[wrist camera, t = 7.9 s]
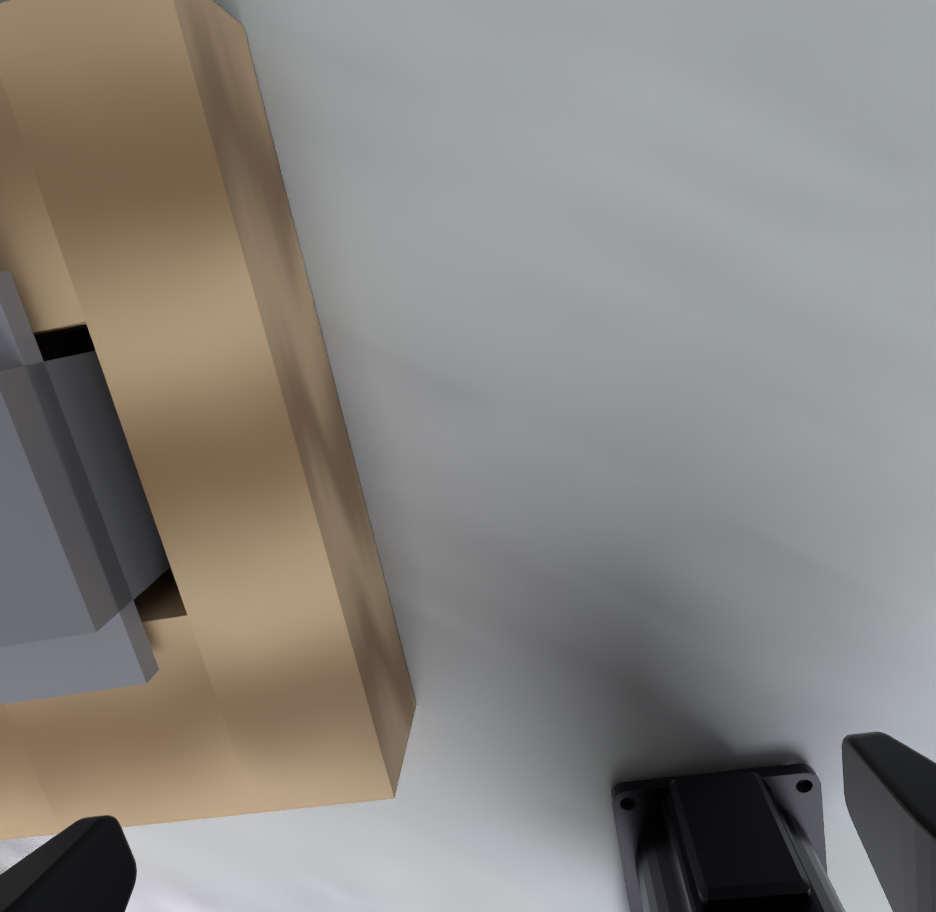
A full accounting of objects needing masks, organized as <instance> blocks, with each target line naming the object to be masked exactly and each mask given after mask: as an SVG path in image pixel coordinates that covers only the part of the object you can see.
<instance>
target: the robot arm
mask: <svg viewBox="0 0 936 912" xmlns="http://www.w3.org/2000/svg"><path fill="white" fill-rule="evenodd" d="M842 762H843V780H844V795H845V801H846V805H847V808H848V811H849V814H850V817H851V819H852V821H853V824H854V826H855V828H856V830H857V833H858V835H859V837H860V839H861V841H862V844H863V846H864V848H865V850H866V853H867V855H868V857H869V859H870V861H871V864H872V866H873V868H874V870H875V873H876V875H877V877H878V879H879V881H880V884H881V886H882V888H883V890H884V893H885V895H886V897H887V899H888V901H889V904H890V906H891V908H892V910H893V912H936V763H935V762H933V761H932V760H930V759H928V758H926V757H925V756H923V755H921V754H920V753H918V752H916V751H915V750H913V749H911V748H910V747H908V746H906V745H904V744H903V743H901V742H899V741H898V740H896V739H894V738H893V737H891V736H889V735H887V734H885V733H882V732H869V733H860V734H850V735H847V736H846V737H845V738H844V739H843V742H842ZM800 780H806V781H804V782H803V783H798V782H799V781H800ZM627 797H628V798H632V799H631V800H628V801H625V800H622V799H623V798H627ZM611 799H612V805H613V811H614V817H615V823H616V829H617V834H618V840H619V846H620V852H621V858H622V864H623V869H624V875H625V881H626V887H627V893H628V898H629V904H630V910H631V912H845V910H844V908H843V906H842V904H841V902H840V900H839V898H838V896H837V894H836V892H835V890H834V888H833V886H832V884H831V882H830V880H829V878H828V876H827V866H826V851H825V837H824V822H823V808H822V793H821V783H820V780H819V778H818V777H817V775H816V773H815V771H814V770H813V769H812V768H811V767H810V766H808V765H805V764H793V765H783V766H773V767H764V768H754V769H745V770H735V771H725V772H716V773H706V774H697V775H687V776H678V777H668V778H658V779H649V780H639V781H630V782H623V783H619V784H617V785H616V786H614V787H613V789H612V791H611ZM136 874H137V868H136V862H135V859H134V857H133V854H132V852H131V849H130V847H129V845H128V842H127V840H126V837H125V835H124V833H123V830H122V828H121V825H120V823H119V821H118V820H117V819H116V818H115V817H113V816H110V815H103V816H93V817H86V818H82V819H80V820H78V821H76V822H74V823H73V824H72V825H70V826H69V827H67V828H66V829H64V830H63V831H62V832H60V833H59V834H57V835H56V836H55V837H53V838H52V839H50V840H49V841H48V842H46V843H45V844H43V845H42V846H40V847H39V848H38V849H36V850H35V851H33V852H32V853H31V854H29V855H28V856H26V857H25V858H24V859H22V860H21V861H19V862H18V863H16V864H15V865H14V866H12V867H11V868H9V869H8V870H7V871H5V872H4V873H2V874H1V875H0V912H125V910H126V907H127V905H128V902H129V899H130V896H131V894H132V891H133V888H134V885H135V881H136Z"/></svg>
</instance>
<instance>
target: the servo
mask: <svg viewBox="0 0 936 912" xmlns="http://www.w3.org/2000/svg"><path fill="white" fill-rule="evenodd" d="M170 567H171V566H170V563H169V561H168V558H167V555H166V552H165V549H164V546H163V543H162V540H161V537H160V535H159V532H158V529H157V526H156V523H155V520H154V517H153V514H152V512H151V509H150V506H149V503H148V500H147V497H146V494H145V491H144V488H143V486H142V483H141V480H140V477H139V474H138V471H137V468H136V465H135V463H134V460H133V457H132V454H131V451H130V448H129V445H128V442H127V439H126V437H125V434H124V431H123V428H122V425H121V422H120V419H119V416H118V414H117V411H116V408H115V405H114V402H113V399H112V396H111V393H110V390H109V388H108V385H107V382H106V379H105V376H104V373H103V370H102V367H101V365H100V362H99V359H98V356H97V353H96V351H91V352H87V353H82V354H77V355H73V356H68V357H63V358H59V359H54V360H49V361H43V358H42V355H41V353H40V350H39V347H38V345H37V342H36V339H35V337H34V334H33V331H32V329H31V326H30V323H29V321H28V318H27V315H26V313H25V310H24V307H23V305H22V302H21V299H20V297H19V294H18V291H17V289H16V286H15V283H14V281H13V278H12V275H11V273H10V271H0V700H1V702H2V704H8V703H15V702H23V701H30V700H37V699H44V698H51V697H58V696H65V695H72V694H79V693H86V692H93V691H100V690H107V689H114V688H121V687H128V686H135V685H142V684H147V683H148V682H149V681H150V680H151V678H152V677H153V676H154V675H155V674H156V673H157V672H158V670H159V667H158V665H157V662H156V659H155V657H154V654H153V651H152V649H151V646H150V643H149V641H148V638H147V635H146V633H145V630H144V627H143V625H142V622H141V619H140V617H139V614H138V611H137V609H136V606H135V603H134V601H133V600H134V599H135V598H136V597H137V596H138V595H139V594H140V593H142V592H143V591H144V590H145V589H146V588H147V587H148V586H150V585H151V584H152V583H153V582H154V581H155V580H156V579H158V578H159V577H160V576H161V575H162V574H163V573H164V572H166V571H167V570H168V569H169V568H170Z"/></svg>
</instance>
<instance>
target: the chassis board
mask: <svg viewBox="0 0 936 912" xmlns="http://www.w3.org/2000/svg"><path fill="white" fill-rule="evenodd" d="M0 271H10V273H11V275H12V278H13V281H14V283H15V286H16V289H17V291H18V294H19V297H20V299H21V302H22V305H23V307H24V310H25V313H26V315H27V318H28V321H29V323H30V326H31V329H32V331H33V334H34V337H35V338H38V337H42V336H47V335H52V334H56V333H61V332H66V331H71V330H75V329H80V328H85V327H88V330H89V333H90V336H91V339H92V341H93V344H94V347H95V350H96V353H97V356H98V359H99V362H100V365H101V367H102V370H103V373H104V376H105V379H106V382H107V385H108V388H109V390H110V393H111V396H112V399H113V402H114V405H115V408H116V411H117V414H118V416H119V419H120V422H121V425H122V428H123V431H124V434H125V437H126V439H127V442H128V445H129V448H130V451H131V454H132V457H133V460H134V463H135V465H136V468H137V471H138V474H139V477H140V480H141V483H142V486H143V488H144V491H145V494H146V497H147V500H148V503H149V506H150V509H151V512H152V514H153V517H154V520H155V523H156V526H157V529H158V532H159V535H160V537H161V540H162V543H163V546H164V549H165V552H166V555H167V558H168V561H169V563H170V566H171V567H170V568H169V569H168V570H167V571H166V572H164V573H163V574H162V575H161V576H160V577H159V578H158V579H156V580H155V581H154V582H153V583H152V584H151V585H150V586H148V587H147V588H146V589H145V590H144V591H143V592H142V593H140V594H139V595H138V596H137V597H136V598H135V599H134V600H133V601H134V603H135V606H136V609H137V611H138V614H139V617H140V619H141V622H142V625H143V627H144V630H145V633H146V635H147V638H148V641H149V643H150V646H151V649H152V651H153V654H154V657H155V659H156V662H157V665H158V667H159V670H158V672H157V673H156V674H155V675H154V676H153V677H152V678H151V680H150V681H149V682H148V683H147V684H142V685H135V686H128V687H121V688H114V689H107V690H100V691H93V692H86V693H79V694H72V695H65V696H58V697H51V698H44V699H37V700H30V701H23V702H15V703H8V704H2V702H1V700H0V840H6V839H15V838H25V837H34V836H44V835H53V834H59V833H60V832H62V831H63V830H64V829H66V828H67V827H69V826H70V825H72V824H73V823H74V822H76V821H78V820H80V819H82V818H86V817H93V816H103V815H110V816H113V817H115V818H116V819H117V820H118V821H119V823H120V825H121V827H129V826H138V825H148V824H157V823H166V822H176V821H185V820H195V819H204V818H214V817H223V816H233V815H242V814H252V813H261V812H270V811H280V810H289V809H299V808H308V807H318V806H327V805H337V804H346V803H355V802H365V801H374V800H384V799H393V798H394V797H395V793H396V789H397V785H398V780H399V776H400V772H401V768H402V763H403V759H404V755H405V751H406V746H407V742H408V738H409V734H410V729H411V725H412V721H413V717H414V712H415V708H416V701H415V697H414V693H413V689H412V685H411V681H410V677H409V673H408V670H407V666H406V662H405V658H404V654H403V650H402V646H401V642H400V638H399V634H398V630H397V626H396V622H395V619H394V615H393V611H392V607H391V603H390V599H389V595H388V591H387V587H386V583H385V579H384V575H383V571H382V568H381V564H380V560H379V556H378V552H377V548H376V544H375V540H374V536H373V532H372V528H371V524H370V520H369V517H368V513H367V509H366V505H365V501H364V497H363V493H362V489H361V485H360V481H359V477H358V473H357V469H356V466H355V462H354V458H353V454H352V450H351V446H350V442H349V438H348V434H347V430H346V426H345V422H344V418H343V415H342V411H341V407H340V403H339V399H338V395H337V391H336V387H335V383H334V379H333V375H332V371H331V367H330V364H329V360H328V356H327V352H326V348H325V344H324V340H323V336H322V332H321V328H320V324H319V320H318V316H317V313H316V309H315V305H314V301H313V297H312V293H311V289H310V285H309V281H308V277H307V273H306V269H305V265H304V262H303V258H302V254H301V250H300V246H299V242H298V238H297V234H296V230H295V226H294V222H293V218H292V214H291V211H290V207H289V203H288V199H287V195H286V191H285V187H284V183H283V179H282V175H281V171H280V167H279V163H278V159H277V156H276V152H275V148H274V144H273V140H272V136H271V132H270V128H269V124H268V120H267V116H266V112H265V108H264V105H263V101H262V97H261V93H260V89H259V85H258V81H257V77H256V73H255V69H254V65H253V61H252V57H251V54H250V50H249V46H248V42H247V38H246V34H245V30H244V27H243V26H242V25H241V24H240V23H239V22H238V21H236V20H235V19H234V18H233V17H232V16H230V15H229V14H228V13H227V12H226V11H224V10H223V9H222V8H221V7H220V6H218V5H217V4H216V3H215V2H214V1H213V0H9V1H6V2H2V3H0Z"/></svg>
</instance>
